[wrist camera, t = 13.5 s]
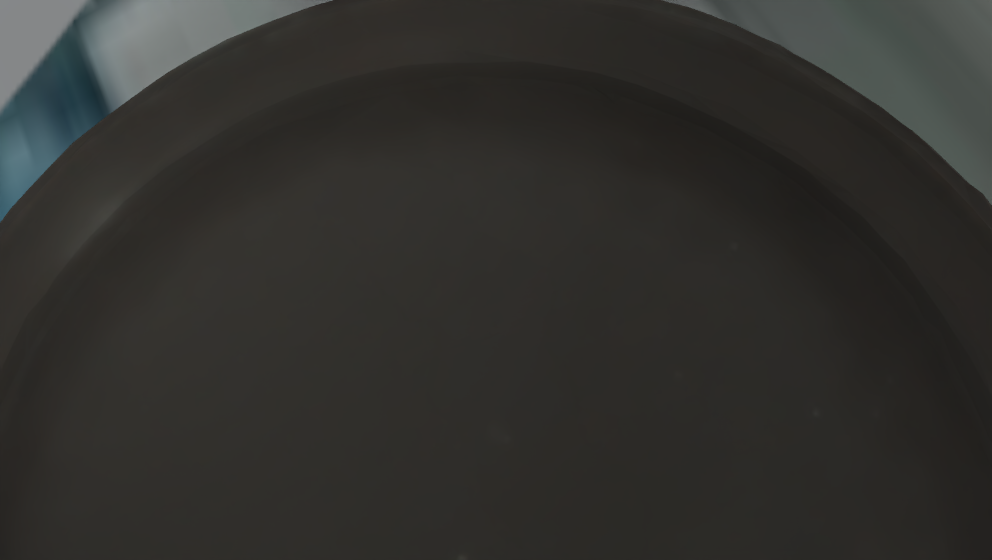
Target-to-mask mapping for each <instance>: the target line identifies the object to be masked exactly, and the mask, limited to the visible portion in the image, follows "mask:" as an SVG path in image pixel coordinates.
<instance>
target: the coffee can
mask: <svg viewBox="0 0 992 560" xmlns="http://www.w3.org/2000/svg"><path fill="white" fill-rule="evenodd" d="M0 560H992V205H991V204H990V203H989V201H988V200H987V199H986V197H985V196H984V195H983V194H982V193H981V192H980V191H978V190H977V189H976V188H974V187H973V186H972V185H970V184H969V183H968V182H967V181H966V180H965V179H964V178H963V177H962V176H961V175H960V174H959V173H958V172H957V171H956V170H955V169H954V168H952V167H951V166H950V165H949V164H948V163H947V162H946V161H945V160H944V159H943V158H942V157H941V156H940V155H939V154H938V153H937V152H936V151H935V150H934V149H933V148H932V147H931V146H930V145H928V144H927V143H926V142H925V141H924V140H923V139H921V138H920V137H919V136H918V135H917V134H915V133H914V132H913V131H912V130H910V129H909V128H907V127H906V126H905V125H903V124H902V123H901V122H899V121H898V120H897V119H896V118H894V117H893V116H892V115H890V114H889V113H888V112H887V111H885V110H884V109H883V108H882V107H880V106H879V105H877V104H875V103H874V102H872V101H871V100H869V99H868V98H866V97H865V96H863V95H862V94H860V93H859V92H857V91H856V90H854V89H852V88H851V87H849V86H848V85H846V84H845V83H843V82H842V81H840V80H838V79H837V78H835V77H834V76H832V75H831V74H829V73H827V72H826V71H824V70H822V69H820V68H819V67H817V66H815V65H814V64H812V63H810V62H808V61H806V60H804V59H803V58H801V57H799V56H797V55H795V54H793V53H792V52H790V51H789V50H787V49H785V48H784V47H782V46H781V45H779V44H776V43H774V42H771V41H769V40H767V39H764V38H762V37H760V36H757V35H755V34H753V33H751V32H749V31H747V30H745V29H743V28H741V27H739V26H737V25H734V24H732V23H729V22H727V21H724V20H722V19H719V18H717V17H714V16H712V15H709V14H706V13H704V12H701V11H698V10H695V9H692V8H689V7H686V6H682V5H678V4H673V3H669V2H665V1H662V0H333V1H330V2H326V3H323V4H319V5H316V6H312V7H309V8H307V9H304V10H301V11H298V12H296V13H293V14H290V15H287V16H285V17H282V18H279V19H276V20H274V21H271V22H268V23H266V24H263V25H261V26H259V27H256V28H254V29H251V30H249V31H247V32H244V33H242V34H239V35H237V36H234V37H232V38H230V39H227V40H225V41H223V42H222V43H220V44H218V45H216V46H214V47H212V48H210V49H208V50H207V51H205V52H203V53H201V54H199V55H197V56H195V57H194V58H192V59H190V60H188V61H187V62H185V63H183V64H181V65H180V66H178V67H176V68H175V69H173V70H171V71H170V72H168V73H166V74H165V75H164V76H162V77H161V78H159V79H158V80H156V81H155V82H153V83H152V84H151V85H149V86H148V87H146V88H145V89H143V90H142V91H141V92H139V93H138V94H137V95H135V96H134V97H133V98H131V99H130V100H129V101H127V102H126V103H124V104H123V105H122V106H120V107H119V108H118V109H116V110H115V111H114V112H112V113H111V114H109V115H108V116H107V117H105V118H104V119H103V120H101V121H100V122H99V123H98V124H96V125H95V126H94V127H92V128H91V129H90V130H89V131H87V132H86V133H85V134H84V135H82V136H81V137H80V138H78V139H77V140H76V141H75V142H73V143H72V144H71V145H70V146H69V147H68V148H67V149H66V151H65V152H64V153H63V154H62V155H61V156H60V157H59V158H58V159H57V160H56V161H55V162H54V163H53V164H52V165H51V166H50V167H49V168H48V169H47V170H46V171H45V172H44V173H43V174H42V175H41V177H40V178H39V179H38V180H37V181H36V182H35V183H34V184H33V185H32V186H31V187H30V188H29V189H28V190H27V191H26V192H25V194H24V195H23V196H22V197H21V198H20V199H19V200H18V201H17V202H16V204H15V205H14V206H13V207H12V208H11V209H10V210H9V212H8V213H7V214H6V216H5V217H4V218H3V220H2V221H1V223H0Z"/></svg>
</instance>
